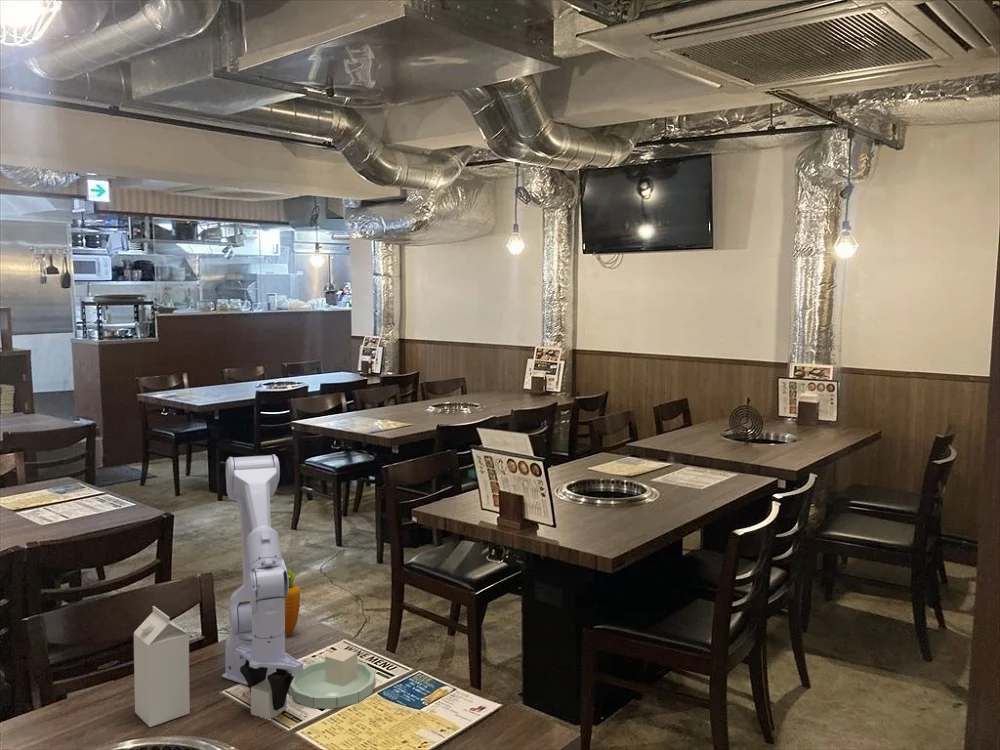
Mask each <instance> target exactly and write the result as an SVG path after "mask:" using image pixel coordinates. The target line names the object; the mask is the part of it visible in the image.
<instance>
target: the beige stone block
mask: <svg viewBox="0 0 1000 750" xmlns="http://www.w3.org/2000/svg"><path fill="white" fill-rule="evenodd" d="M324 660H325V681H327V682H330V683H334V684H337V685H340V686H344V685H346V684H347V683H349V682H350V681H352V680H353V679H355V678H357V661H358V652H355V651H352V650H349V649H345V648H341V647H339V648H338V649H335V650H334V651H332V652H331V653H329V654H327V655H325V657H324Z"/></svg>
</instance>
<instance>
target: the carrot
mask: <svg viewBox="0 0 1000 750" xmlns="http://www.w3.org/2000/svg"><path fill="white" fill-rule="evenodd" d="M286 569H287V573H288V579H289V589H288V595H287V597H286V596H285V594H284V597H285V635H287V636H288V635H290V636H291V635H292V634H293V633H294V631H295V629H296V627H297V623H298V618H299V612H300V603H301V601H300V600H301V588H300V587H299V586H298V585H296V584H294V580H295V577H296V573H295V572H292V570H291V569H292V568H286Z"/></svg>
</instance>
